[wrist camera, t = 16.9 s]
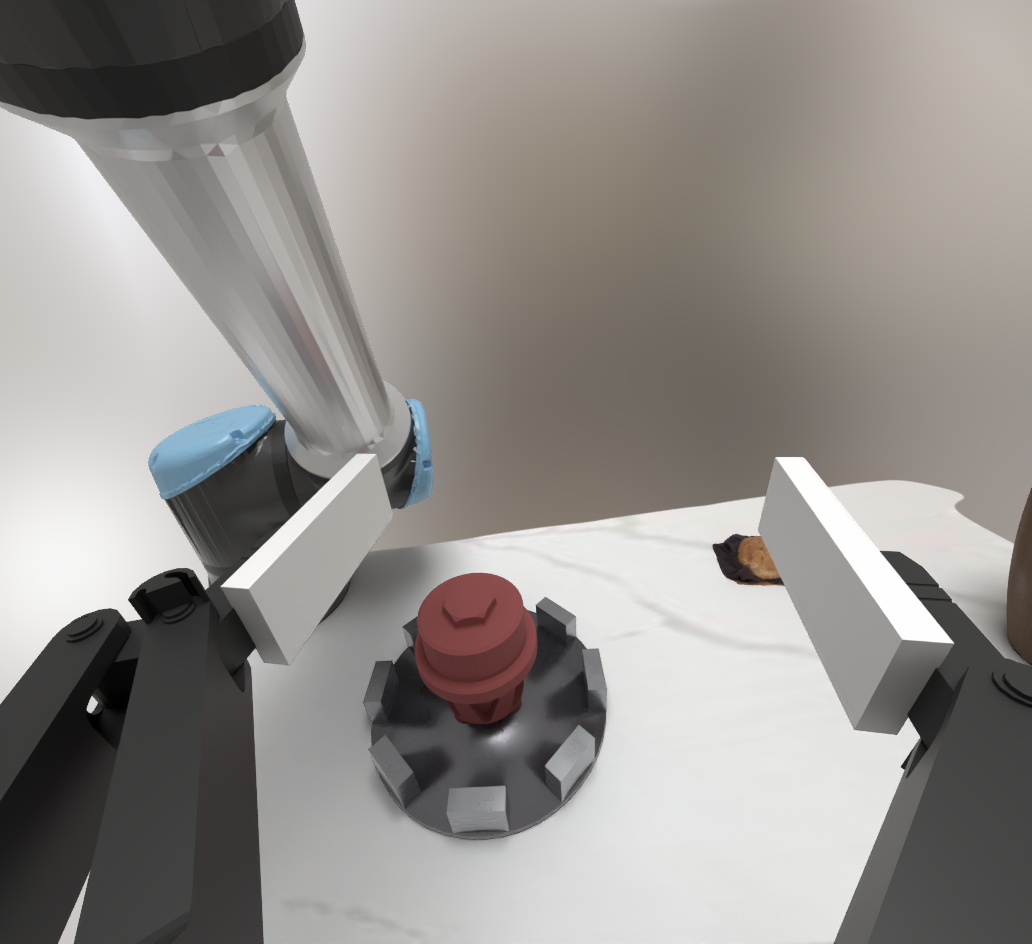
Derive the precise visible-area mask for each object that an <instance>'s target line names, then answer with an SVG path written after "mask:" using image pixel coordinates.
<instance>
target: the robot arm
mask: <svg viewBox="0 0 1032 944" xmlns="http://www.w3.org/2000/svg"><path fill="white" fill-rule="evenodd" d="M305 49H306V42H305V36H304V32H303V29H302V25H301V22H300V18H299V14H298V11H297V7H296V4H295V0H0V107H2V108H3V109H5V110H7V111H9V112H11V113H13V114H16V115H19V116H21V117H23V118H26V119H29V120H31V121H35V122H36V123H39V124H42V125H44V126H46V127H49V128H51V129H54V130H56V131H59V132H61V133H63V134H66V135H68V136H71V137H72V138H74V139H75V140H76V141H77V143H78V144H79V145H80V147H81V148H82V149H83V150H84V152H85V153H86V155H87V156H88V157H89V158H90V160H91V161H92V162H93V164H94V165H95V167H96V168H97V169H98V171H99V172H100V173H101V175H102V176H103V177H104V179H105V180H106V181H107V182H108V184H109V185H110V186H111V188H112V189H113V190H114V192H115V193H116V194H117V196H118V197H119V198H120V200H121V201H122V202H123V204H124V205H125V206H126V207H127V209H128V210H129V212H130V213H131V214H132V216H133V217H134V218H135V220H136V221H137V222H138V224H139V225H140V226H141V228H142V229H143V230H144V232H145V233H146V234H147V235H148V237H149V238H150V240H151V241H152V242H153V243H154V245H155V246H156V248H157V249H158V250H159V252H160V253H161V254H162V256H163V257H164V258H165V259H166V261H167V262H168V263H169V265H170V266H171V267H172V269H173V270H174V271H175V273H176V274H177V275H178V277H179V278H180V279H181V281H182V282H183V283H184V285H185V286H186V287H187V288H188V290H189V291H190V293H191V294H192V295H193V297H194V298H195V299H196V301H197V302H198V303H199V304H200V306H201V307H202V309H203V310H204V311H205V313H206V314H207V315H208V316H209V318H210V319H211V321H212V322H213V323H214V325H215V326H216V327H217V329H218V330H219V331H220V332H221V334H222V335H223V336H224V338H225V339H226V340H227V342H228V343H229V344H230V346H231V347H232V348H233V350H234V351H235V352H236V354H237V355H238V356H239V358H240V359H241V360H242V362H243V363H244V364H245V366H246V367H247V368H248V370H249V371H250V372H251V374H252V375H253V376H254V378H255V379H256V380H257V382H258V383H259V384H260V386H261V387H262V388H263V390H264V391H265V392H266V394H267V395H268V396H269V398H270V399H271V400H272V402H273V403H274V404H275V406H276V407H277V408H278V409H279V411H280V412H281V413H282V415H283V416H284V417H285V419H286V420H278V421H277V420H275V419H276V416H275V413H273V412H272V411H271V410H270V409H269V408H268V407H266V406H263V405H260V406H256V405H251V406H244V407H239V408H235V409H231V410H228V411H224V412H221V413H219V414H215V415H213V416H210V417H207V418H205V419H202V420H200V421H197V422H195V423H193V424H190V425H188V426H187V427H184V428H182V429H180V430H178V431H177V432H175V433H173V434H172V435H170V436H168V437H167V438H166V439H164V440H163V441H162V442H160V443H159V444H158V445H157V446H156V447H155V448H154V449H153V451H152V453H151V454H150V457H149V469H150V471H151V473H152V475H153V478H154V480H155V482H156V484H157V486H158V489H159V491H160V496H161V498H162V499H164V500H165V501H166V503H167V505H168V506H169V508H170V509H171V511H172V513H173V515H174V516H175V518H176V520H177V521H178V523H179V525H180V526H181V528H182V530H183V532H184V533H185V535H186V537H187V538H188V540H189V542H190V543H191V545H192V547H193V548H194V550H195V552H196V554H197V555H198V557H199V559H200V560H201V562H202V564H203V565H204V567H205V569H206V571H207V573H208V581H209V588H207V589H206V590H205V589H204V587H203V586H202V584H201V583H200V581H199V580H198V578H197V576H196V574H195V573H194V571H193V570H190V569H188V568H177V569H173V570H170V571H165V572H163V573H161V574H158V575H156V576H154V577H152V578H151V579H149V580H147V581H146V582H144V583H142V584H141V585H140V586H139V587H138V588H137V589H136V590H134V591H133V592H132V594H131V596H130V597H129V599H128V600H129V602H130V603H131V604H132V606H133V607H134V608H135V610H136V611H137V613H138V614H139V615H140V617H141V618H142V619H141V620H135V621H130V622H126V621H125V620H124V618H123V617H122V615H121V614H120V613H119V612H118V611H117V610H115V609H111V608H110V609H102V610H98V611H95V612H92V613H88V614H86V615H83V616H81V617H79V618H77V619H75V620H74V621H72V622H71V623H70V624H68V625H67V626H65V627H64V628H63V629H61V630H60V631H59V632H58V633H57V634H56V635H55V636H54V637H53V638H52V640H51V641H50V642H49V643H48V645H47V646H46V647H45V649H44V650H43V651H42V652H41V654H40V655H39V656H38V657H37V659H36V660H35V661H34V662H33V664H32V665H31V666H30V668H29V669H28V670H27V671H26V673H25V674H24V675H23V676H22V678H21V679H20V680H19V682H18V683H17V684H16V685H15V687H14V688H13V689H12V690H11V692H10V693H9V694H8V695H7V697H6V698H5V699H4V701H3V702H2V703H1V704H0V944H58V942H59V940H60V937H61V935H62V933H63V931H64V928H65V926H66V924H67V922H68V919H69V917H70V915H71V912H72V910H73V908H74V906H75V903H76V901H77V898H78V897H79V894H80V892H81V890H82V887H83V885H84V883H85V881H86V878H87V876H88V874H89V872H90V875H89V879H88V884H87V888H86V892H85V897H84V902H83V906H82V910H81V914H80V919H79V923H78V927H77V932H76V936H75V941H74V944H264V941H263V919H262V897H261V875H260V853H259V831H258V809H257V787H256V766H255V744H254V722H253V700H252V678H251V667H250V664H249V662H248V660H247V658H248V656H249V655H250V654H251V653H252V651H253V650H254V649H255V648H256V649H257V651H258V653H259V655H260V656H261V658H262V660H263V661H264V663H273V664H282V665H290V664H291V662H292V661H293V660H294V658H295V657H296V655H297V654H298V652H299V651H300V650H301V648H302V647H303V645H304V644H305V642H306V641H307V639H308V638H309V637H310V635H311V634H312V632H313V631H314V629H315V628H316V627H317V625H318V624H319V622H320V621H322V620H323V619H324V618H325V617H327V616H328V615H329V614H330V613H331V612H332V611H333V610H334V609H335V608H336V607H337V606H338V605H339V603H340V602H341V601H342V599H343V598H344V596H345V594H346V592H347V590H348V588H349V584H350V578H351V576H352V575H353V573H354V572H355V571H356V569H357V568H358V566H359V565H360V563H361V562H362V561H363V559H364V558H365V556H366V555H367V553H368V552H369V550H370V549H371V548H372V546H373V545H374V543H375V542H376V540H377V539H378V538H379V536H380V535H381V533H382V532H383V530H384V529H385V528H386V526H387V525H388V523H389V522H390V520H391V519H392V517H393V513H392V509H395V508H398V509H404V508H405V507H407V506H409V505H413V504H417V503H421V502H424V501H426V500H427V499H428V498H429V497H430V496H431V494H432V491H433V466H432V462H431V459H432V457H431V444H430V437H429V431H428V425H427V419H426V415H425V411H424V408H423V406H422V404H421V403H420V402H419V401H418V400H410V399H404V397H403V396H402V395H401V394H400V392H399V391H398V390H397V389H395V388H394V387H393V386H392V385H390V384H389V383H387V382H385V381H383V380H382V378H381V375H380V372H379V369H378V366H377V363H376V360H375V357H374V354H373V351H372V348H371V345H370V343H369V339H368V337H367V333H366V331H365V328H364V325H363V322H362V319H361V316H360V313H359V310H358V307H357V304H356V302H355V299H354V296H353V293H352V289H351V286H350V284H349V281H348V278H347V275H346V272H345V269H344V266H343V263H342V260H341V257H340V254H339V251H338V249H337V246H336V243H335V239H334V237H333V234H332V231H331V228H330V225H329V222H328V219H327V216H326V213H325V210H324V207H323V204H322V201H321V198H320V195H319V193H318V190H317V187H316V184H315V181H314V178H313V175H312V172H311V169H310V166H309V163H308V160H307V157H306V154H305V152H304V149H303V145H302V143H301V140H300V137H299V134H298V131H297V128H296V125H295V122H294V119H293V116H292V113H291V110H290V107H289V104H288V101H287V98H286V91H287V88H288V87H289V85H290V83H291V81H292V79H293V77H294V75H295V73H296V71H297V69H298V67H299V65H300V64H301V61H302V60H303V57H304V55H305ZM758 531H759V533H760V535H761V537H762V539H763V542H764V544H765V546H766V548H767V550H768V552H769V554H770V556H771V558H772V560H773V562H774V564H775V566H776V569H777V571H778V573H779V575H780V577H781V579H782V581H783V583H784V585H785V587H786V589H787V591H788V593H789V596H790V598H791V600H792V602H793V604H794V606H795V608H796V610H797V612H798V614H799V616H800V618H801V620H802V623H803V625H804V627H805V629H806V631H807V633H808V635H809V637H810V639H811V641H812V643H813V645H814V647H815V650H816V652H817V654H818V656H819V658H820V660H821V662H822V664H823V666H824V668H825V670H826V672H827V674H828V677H829V679H830V681H831V683H832V685H833V687H834V689H835V691H836V693H837V695H838V697H839V699H840V701H841V704H842V706H843V708H844V710H845V712H846V714H847V716H848V718H849V720H850V722H851V724H852V726H853V728H854V730H860V731H868V732H877V733H886V734H895V735H897V734H898V733H899V731H900V729H901V728H902V726H903V725H904V723H905V721H906V720H907V718H908V717H909V719H910V721H911V722H912V724H913V726H914V727H915V729H916V730H917V732H918V734H919V735H920V737H921V738H920V739H919V740H918V742H917V743H916V745H915V746H914V748H913V749H912V751H911V752H910V754H909V755H908V757H907V758H906V760H905V761H904V763H903V764H902V766H901V768H903V769H904V770H905V771H904V773H903V776H902V778H901V781H900V783H899V785H898V788H897V790H896V793H895V795H894V798H893V800H892V803H891V805H890V807H889V810H888V812H887V815H886V817H885V820H884V822H883V825H882V827H881V829H880V832H879V834H878V837H877V839H876V842H875V844H874V846H873V849H872V851H871V854H870V856H869V859H868V861H867V864H866V866H865V868H864V871H863V873H862V876H861V878H860V881H859V883H858V885H857V888H856V890H855V893H854V895H853V898H852V900H851V903H850V905H849V907H848V910H847V912H846V915H845V917H844V920H843V922H842V924H841V927H840V929H839V932H838V934H837V937H836V939H835V942H834V944H1032V668H1031V667H1029V666H1027V665H1024V664H1021V663H1018V662H1016V661H1013V660H1010V659H1006V658H1004V657H1003V656H1002V655H1001V654H1000V653H999V651H998V650H997V649H996V648H995V647H994V646H993V645H992V644H991V643H990V641H989V640H988V639H987V638H986V637H985V636H984V635H983V634H982V633H981V631H980V630H979V629H978V628H977V627H976V626H975V625H974V624H973V622H972V621H971V620H970V619H969V618H968V617H967V616H966V615H965V614H964V612H963V611H962V610H961V609H960V608H959V607H958V606H957V605H956V604H955V603H952V599H951V598H950V597H949V596H948V595H947V593H946V592H945V591H944V590H943V589H942V588H939V585H938V583H937V582H936V581H935V580H934V579H933V578H932V577H931V576H930V574H929V573H928V572H927V571H926V570H925V569H924V568H923V567H922V566H920V565H919V564H917V563H916V562H914V561H913V560H911V559H910V558H908V557H907V556H905V555H904V554H902V553H901V552H893V551H879V550H878V549H877V547H876V546H875V545H874V544H873V543H872V541H871V540H870V539H869V538H868V536H867V535H866V534H865V533H864V531H863V530H862V529H861V528H860V526H859V525H858V524H857V523H856V522H855V520H854V519H853V518H852V517H851V515H850V514H849V513H848V512H847V510H846V509H845V508H844V507H843V506H842V504H841V503H840V502H839V501H838V499H837V498H836V497H835V496H834V494H833V493H832V492H831V491H830V489H829V488H828V487H827V486H826V485H825V483H824V482H823V481H822V480H821V478H820V477H819V476H818V475H817V473H816V472H815V471H814V470H813V468H812V467H811V466H810V465H809V464H808V462H807V461H806V460H805V459H804V458H801V457H800V458H798V457H796V458H795V457H776V458H775V462H774V466H773V470H772V474H771V478H770V482H769V487H768V490H767V494H766V499H765V503H764V507H763V511H762V515H761V519H760V523H759V527H758ZM91 696H93V697H94V698H95V699H96V700H97V702H98V704H97V706H96V708H95V709H94V711H93V712H92V713H88V711H87V705H88V703H89V700H90V698H91ZM90 869H91V870H90Z"/></svg>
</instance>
